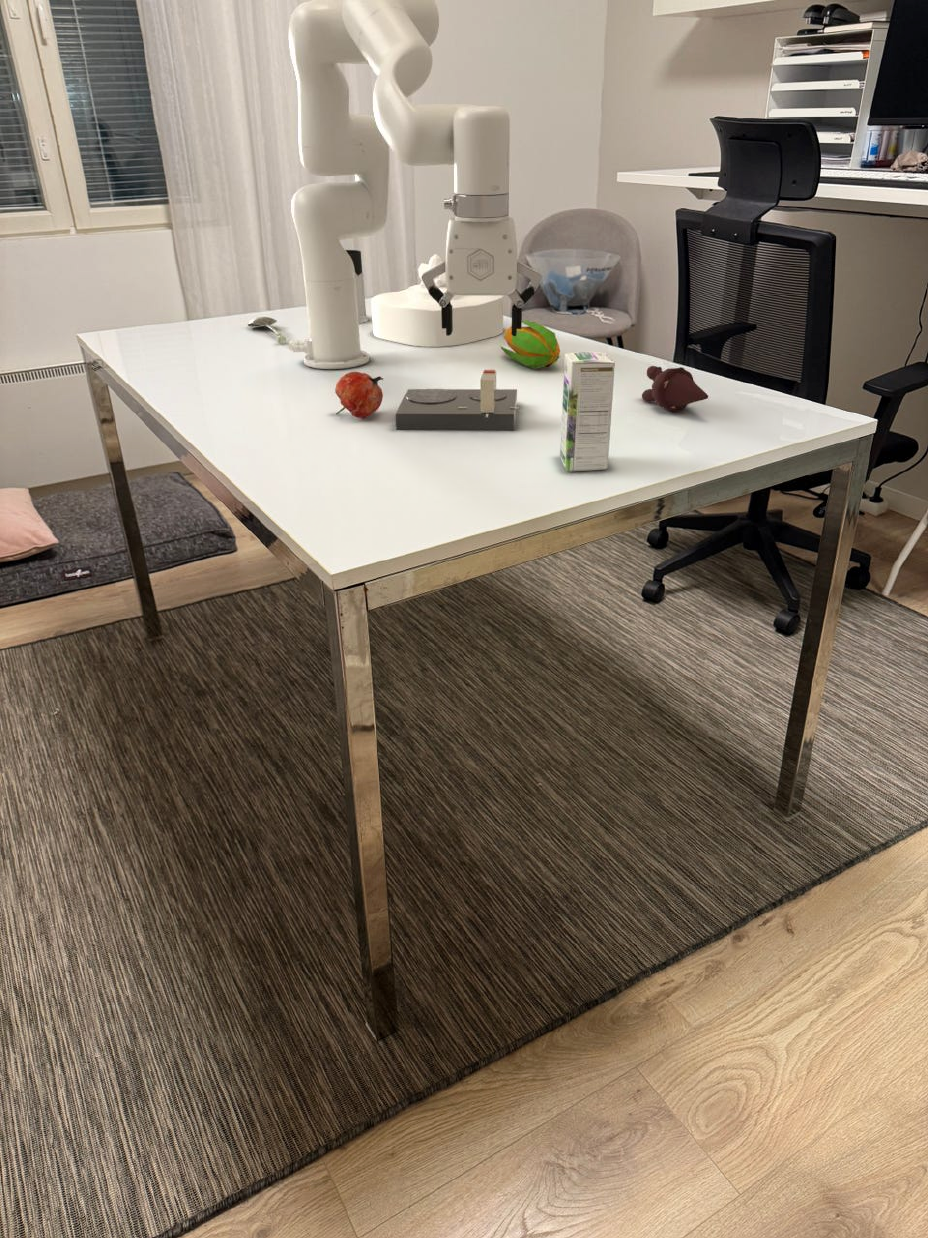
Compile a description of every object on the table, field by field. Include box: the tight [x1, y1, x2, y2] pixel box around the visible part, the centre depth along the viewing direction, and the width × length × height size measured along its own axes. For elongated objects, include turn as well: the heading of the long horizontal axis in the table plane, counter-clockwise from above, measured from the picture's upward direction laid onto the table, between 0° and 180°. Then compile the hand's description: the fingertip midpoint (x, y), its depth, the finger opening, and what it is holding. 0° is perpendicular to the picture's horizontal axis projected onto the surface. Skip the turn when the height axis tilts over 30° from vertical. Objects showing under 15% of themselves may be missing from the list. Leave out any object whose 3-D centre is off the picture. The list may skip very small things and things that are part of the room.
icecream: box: [641, 365, 709, 413], centre depth 145 cm, size 7×7×15 cm
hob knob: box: [479, 369, 497, 413], centre depth 140 cm, size 5×2×5 cm, turn 174°
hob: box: [395, 388, 520, 431], centre depth 145 cm, size 19×16×3 cm
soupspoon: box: [247, 316, 287, 345], centre depth 203 cm, size 22×3×7 cm
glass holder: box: [345, 249, 369, 324], centre depth 214 cm, size 9×14×15 cm, turn 171°
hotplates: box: [407, 388, 507, 404], centre depth 147 cm, size 16×8×1 cm, turn 85°
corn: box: [500, 320, 561, 370], centre depth 175 cm, size 7×8×20 cm
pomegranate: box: [334, 371, 384, 419], centre depth 146 cm, size 7×7×10 cm
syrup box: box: [559, 351, 616, 472], centre depth 122 cm, size 6×6×14 cm
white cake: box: [370, 253, 504, 348], centre depth 198 cm, size 25×25×16 cm
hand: (481, 333), depth 136 cm, fingers open, 9 cm apart
